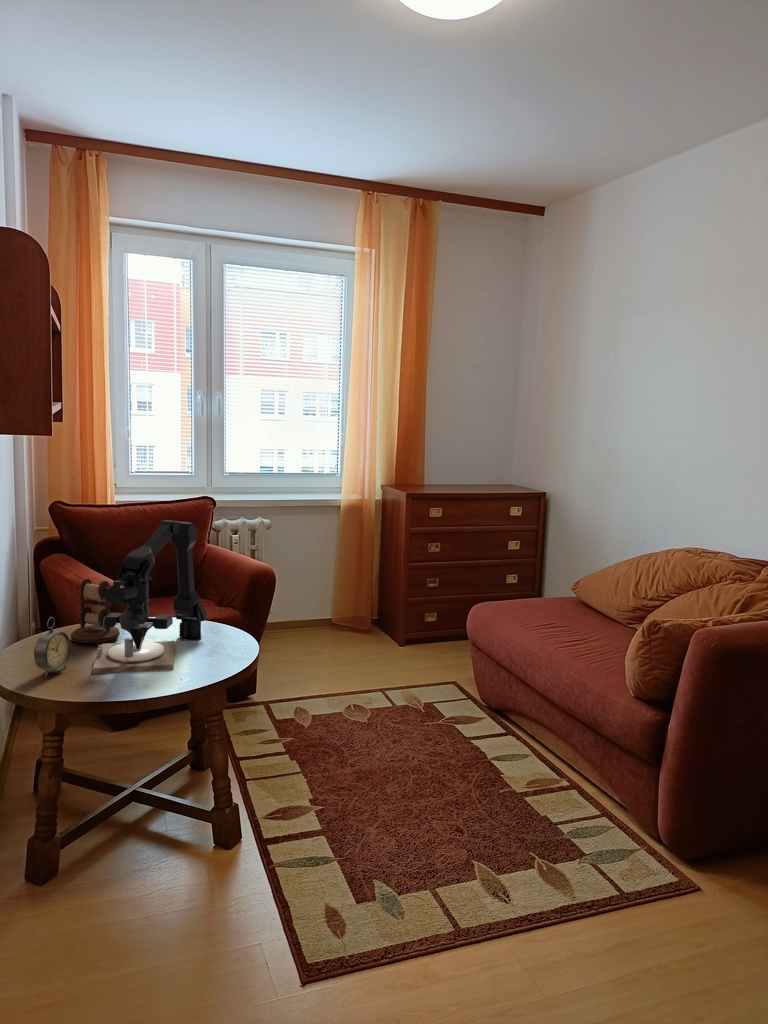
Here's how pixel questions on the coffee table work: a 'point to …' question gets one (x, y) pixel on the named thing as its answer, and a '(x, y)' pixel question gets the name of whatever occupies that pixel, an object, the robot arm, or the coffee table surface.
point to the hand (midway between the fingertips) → (138, 649)
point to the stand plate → (110, 665)
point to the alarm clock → (52, 650)
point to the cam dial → (135, 651)
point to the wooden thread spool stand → (94, 614)
